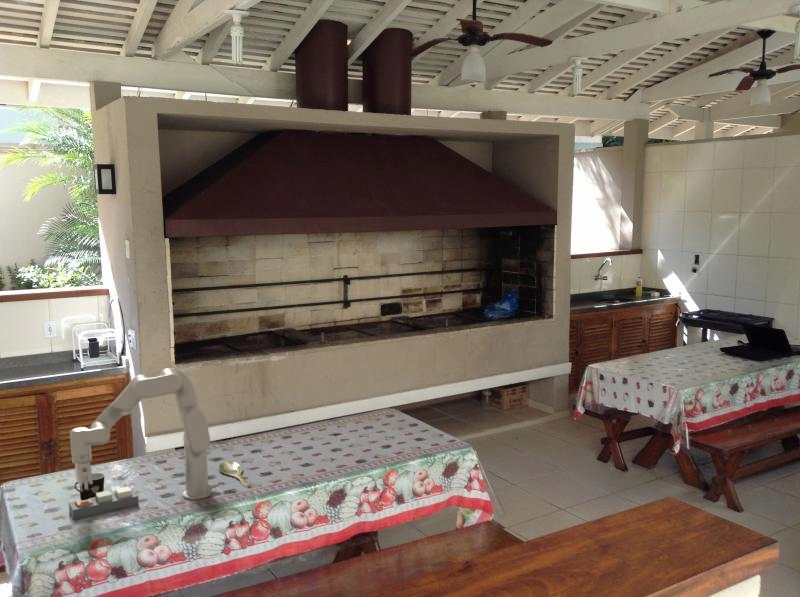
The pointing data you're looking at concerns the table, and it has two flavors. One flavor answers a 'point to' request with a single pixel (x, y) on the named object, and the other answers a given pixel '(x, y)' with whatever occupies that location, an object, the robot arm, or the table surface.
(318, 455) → the table surface
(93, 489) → the coffee mug
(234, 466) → the spoon
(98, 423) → the robot arm
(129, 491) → the button cream
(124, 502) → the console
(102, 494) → the button sage
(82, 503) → the button terracotta
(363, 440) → the table surface
